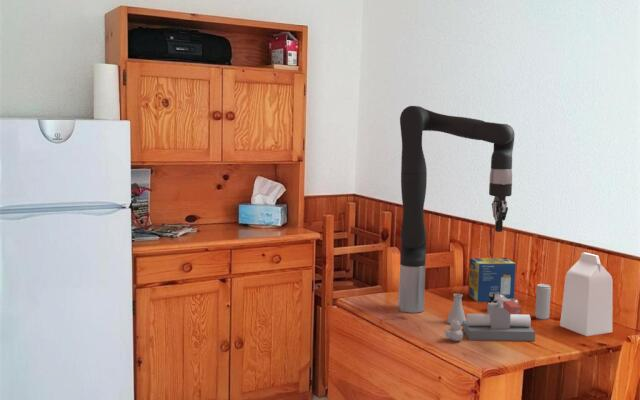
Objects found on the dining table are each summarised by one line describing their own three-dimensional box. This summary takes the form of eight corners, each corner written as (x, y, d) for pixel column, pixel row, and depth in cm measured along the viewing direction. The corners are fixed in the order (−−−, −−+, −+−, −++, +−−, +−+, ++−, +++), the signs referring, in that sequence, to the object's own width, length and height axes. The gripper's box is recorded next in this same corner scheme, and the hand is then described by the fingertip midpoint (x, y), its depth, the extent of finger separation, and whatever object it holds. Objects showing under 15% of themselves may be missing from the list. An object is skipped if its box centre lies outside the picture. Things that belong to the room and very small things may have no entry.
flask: (468, 321, 230) (469, 293, 229) (465, 326, 224) (467, 298, 222) (448, 318, 233) (449, 291, 232) (444, 324, 226) (445, 296, 225)
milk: (559, 325, 226) (563, 252, 223) (585, 322, 230) (589, 249, 227) (586, 336, 215) (591, 258, 212) (612, 332, 219) (617, 256, 216)
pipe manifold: (469, 339, 210) (470, 305, 209) (462, 329, 221) (463, 296, 219) (534, 340, 210) (536, 306, 208) (524, 330, 220) (526, 297, 219)
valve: (523, 318, 235) (500, 309, 245) (524, 300, 234) (500, 292, 245) (509, 320, 232) (486, 311, 242) (509, 302, 231) (487, 294, 242)
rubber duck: (467, 341, 208) (468, 317, 207) (450, 344, 205) (451, 320, 204) (456, 336, 213) (457, 313, 212) (439, 339, 210) (440, 315, 209)
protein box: (468, 295, 265) (469, 257, 263) (504, 294, 267) (506, 257, 265) (476, 302, 255) (478, 263, 253) (514, 301, 256) (516, 262, 255)
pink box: (492, 299, 215) (493, 293, 215) (502, 299, 215) (502, 292, 215) (511, 314, 199) (511, 307, 199) (521, 313, 199) (521, 306, 199)
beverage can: (532, 316, 237) (534, 283, 236) (545, 315, 237) (547, 283, 236) (538, 320, 232) (540, 287, 231) (551, 319, 233) (553, 286, 231)
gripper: (485, 180, 232) (483, 228, 234) (494, 183, 219) (492, 234, 221) (506, 180, 232) (504, 228, 234) (517, 183, 219) (514, 234, 221)
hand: (498, 231), depth 227 cm, fingers closed
